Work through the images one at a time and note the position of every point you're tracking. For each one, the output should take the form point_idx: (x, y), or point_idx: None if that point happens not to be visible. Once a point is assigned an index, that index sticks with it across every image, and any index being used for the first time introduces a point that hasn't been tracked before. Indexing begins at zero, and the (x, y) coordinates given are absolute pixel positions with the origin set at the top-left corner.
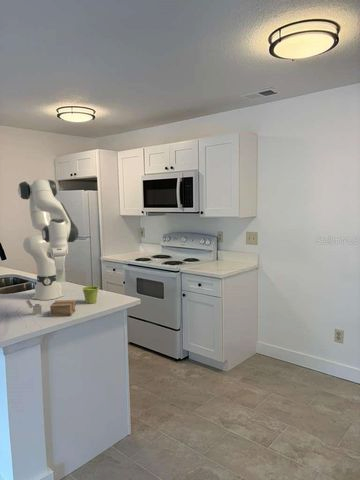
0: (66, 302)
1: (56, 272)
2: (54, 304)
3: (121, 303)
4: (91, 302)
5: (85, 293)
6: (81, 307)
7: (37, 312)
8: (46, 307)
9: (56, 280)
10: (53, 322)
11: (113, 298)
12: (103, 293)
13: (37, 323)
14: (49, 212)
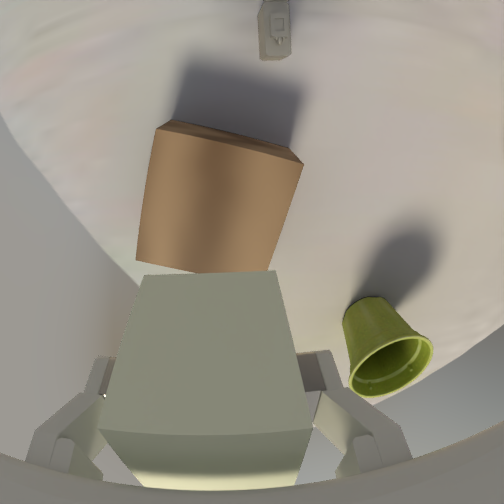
0: (215, 237)
1: (108, 404)
2: (187, 156)
3: None
4: (343, 323)
5: (372, 334)
6: (302, 278)
7: (259, 36)
8: (392, 95)
9: (139, 294)
10: (69, 149)
11: None
12: (456, 346)
13: (74, 68)
14: None
